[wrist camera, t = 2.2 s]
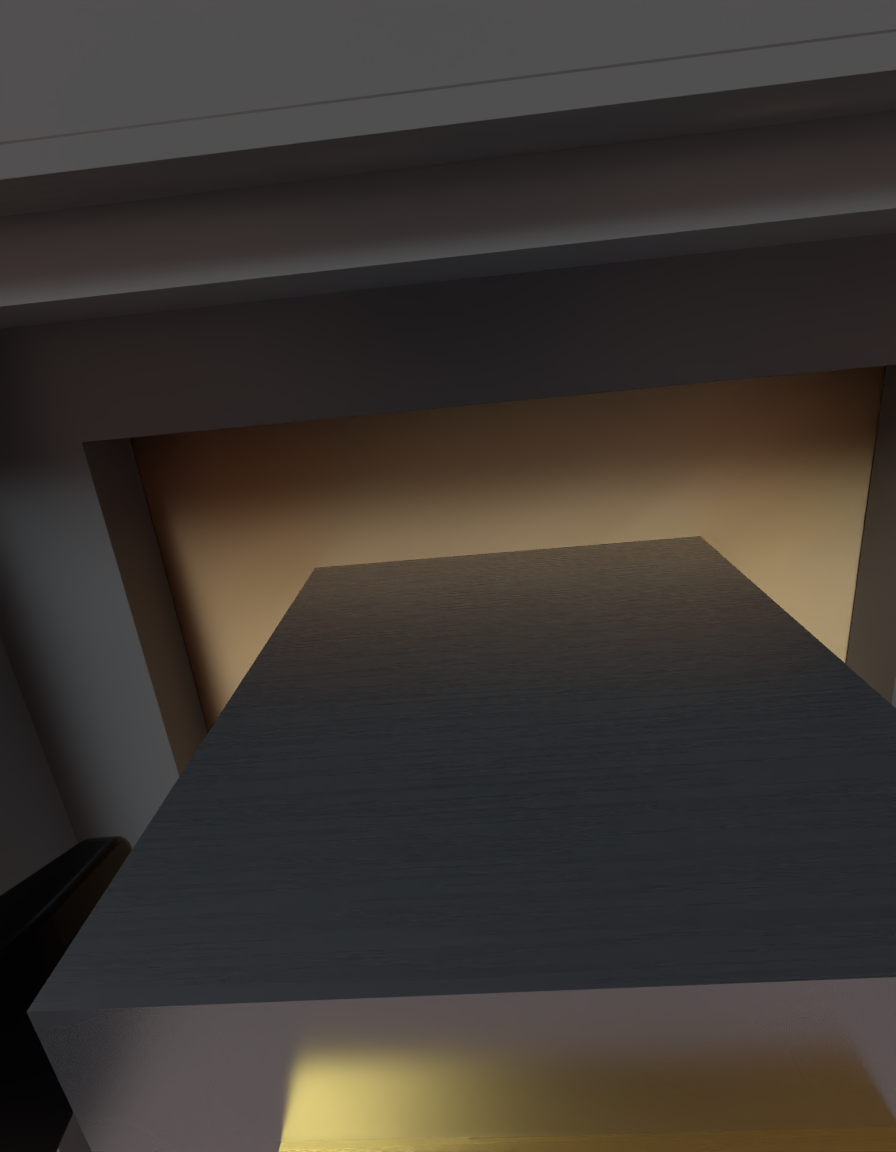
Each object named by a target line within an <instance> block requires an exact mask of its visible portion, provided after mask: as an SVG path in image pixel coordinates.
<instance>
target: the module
mask: <svg viewBox="0 0 896 1152" xmlns="http://www.w3.org/2000/svg"><path fill="white" fill-rule="evenodd" d="M27 1014H28V1016H29V1018H30V1020H31V1022H32V1025H33V1027H34V1029H35V1031H36V1033H37V1035H38V1037H39V1040H40V1042H41V1044H42V1046H43V1048H44V1050H45V1052H46V1055H47V1057H48V1059H49V1061H50V1063H51V1065H52V1067H53V1070H54V1072H55V1074H56V1076H57V1078H58V1080H59V1082H60V1085H61V1087H62V1089H63V1091H64V1093H65V1095H66V1097H67V1100H68V1102H69V1104H70V1106H71V1108H72V1110H73V1112H74V1115H75V1117H76V1119H77V1121H78V1123H79V1125H80V1128H81V1130H82V1132H83V1134H84V1136H85V1138H86V1140H87V1143H88V1145H89V1147H90V1149H91V1151H92V1152H896V708H895V707H894V706H893V705H892V704H890V703H889V702H888V701H887V700H886V699H885V698H884V697H882V696H881V695H880V694H879V693H878V692H877V691H876V690H874V689H873V688H872V687H871V686H870V685H869V684H868V683H867V682H865V681H864V680H863V679H862V678H861V677H860V676H859V675H857V674H856V673H855V672H854V671H853V670H852V669H851V668H849V667H848V666H847V665H846V664H845V663H844V662H843V661H842V660H840V659H839V658H838V657H837V656H836V655H835V654H834V653H832V652H831V651H830V650H829V649H828V648H827V647H826V646H824V645H823V644H822V643H821V642H820V641H819V640H818V639H816V638H815V637H814V636H813V635H812V634H811V633H810V632H809V631H807V630H806V629H805V628H804V627H803V626H802V625H801V624H799V623H798V622H797V621H796V620H795V619H794V618H793V617H791V616H790V615H789V614H788V613H787V612H786V611H785V610H783V609H782V608H781V607H780V606H779V605H778V604H777V603H776V602H774V601H773V600H772V599H771V598H770V597H769V596H768V595H766V594H765V593H764V592H763V591H762V590H761V589H760V588H758V587H757V586H756V585H755V584H754V583H753V582H752V581H751V580H749V579H748V578H747V577H746V576H745V575H744V574H743V573H741V572H740V571H739V570H738V569H737V568H736V567H735V566H733V565H732V564H731V563H730V562H729V561H728V560H727V559H725V558H724V557H723V556H722V555H721V554H720V553H719V552H718V551H716V550H715V549H714V548H713V547H712V546H711V545H710V544H708V543H707V542H706V541H705V540H704V539H703V538H702V537H700V536H698V537H686V538H674V539H662V540H649V541H637V542H625V543H613V544H601V545H588V546H576V547H564V548H552V549H539V550H527V551H515V552H503V553H491V554H478V555H466V556H454V557H442V558H430V559H417V560H405V561H393V562H381V563H369V564H356V565H344V566H332V567H320V568H315V569H314V571H313V572H312V574H311V575H310V577H309V578H308V580H307V581H306V583H305V585H304V586H303V588H302V589H301V591H300V592H299V594H298V595H297V597H296V598H295V600H294V601H293V603H292V605H291V606H290V608H289V609H288V611H287V612H286V614H285V615H284V617H283V618H282V620H281V621H280V623H279V624H278V626H277V628H276V629H275V631H274V632H273V634H272V635H271V637H270V638H269V640H268V641H267V643H266V644H265V646H264V648H263V649H262V651H261V652H260V654H259V655H258V657H257V658H256V660H255V661H254V663H253V664H252V666H251V668H250V669H249V671H248V672H247V674H246V675H245V677H244V678H243V680H242V681H241V683H240V684H239V686H238V688H237V689H236V691H235V692H234V694H233V695H232V697H231V698H230V700H229V701H228V703H227V704H226V706H225V708H224V709H223V711H222V712H221V714H220V715H219V717H218V718H217V720H216V721H215V723H214V724H213V726H212V727H211V729H210V731H209V732H208V734H207V735H206V737H205V738H204V740H203V741H202V743H201V744H200V746H199V747H198V749H197V751H196V752H195V754H194V755H193V757H192V758H191V760H190V761H189V763H188V764H187V766H186V767H185V769H184V771H183V772H182V774H181V775H180V777H179V778H178V780H177V781H176V783H175V784H174V786H173V787H172V789H171V791H170V792H169V794H168V795H167V797H166V798H165V800H164V801H163V803H162V804H161V806H160V807H159V809H158V811H157V812H156V814H155V815H154V817H153V818H152V820H151V821H150V823H149V824H148V826H147V827H146V829H145V831H144V832H143V834H142V835H141V837H140V838H139V840H138V841H137V843H136V844H135V846H134V847H133V849H132V850H131V852H130V854H129V855H128V857H127V858H126V860H125V861H124V863H123V864H122V866H121V867H120V869H119V870H118V872H117V874H116V875H115V877H114V878H113V880H112V881H111V883H110V884H109V886H108V887H107V889H106V890H105V892H104V894H103V895H102V897H101V898H100V900H99V901H98V903H97V904H96V906H95V907H94V909H93V910H92V912H91V914H90V915H89V917H88V918H87V920H86V921H85V923H84V924H83V926H82V927H81V929H80V930H79V932H78V934H77V935H76V937H75V938H74V940H73V941H72V943H71V944H70V946H69V947H68V949H67V950H66V952H65V953H64V955H63V957H62V958H61V960H60V961H59V963H58V964H57V966H56V967H55V969H54V970H53V972H52V973H51V975H50V977H49V978H48V980H47V981H46V983H45V984H44V986H43V987H42V989H41V990H40V992H39V993H38V995H37V997H36V998H35V1000H34V1001H33V1003H32V1004H31V1006H30V1007H29V1009H28V1010H27Z"/></svg>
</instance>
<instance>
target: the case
mask: <svg viewBox="0 0 896 1152" xmlns="http://www.w3.org/2000/svg"><path fill="white" fill-rule="evenodd" d="M885 365H886V372H885V380H884V387H883V395H882V402H881V409H880V417H879V424H878V432H877V439H876V446H875V454H874V461H873V469H872V476H871V484H870V491H869V498H868V506H867V513H866V521H865V528H864V535H863V543H862V550H861V558H860V565H859V572H858V580H857V587H856V595H855V602H854V610H853V617H852V624H851V632H850V639H849V647H848V654H847V661H846V665H847V666H848V667H849V668H851V669H852V670H853V671H854V672H855V673H856V674H857V675H859V676H860V677H861V678H862V679H863V680H864V681H865V682H867V683H868V684H869V685H870V686H871V687H872V688H873V689H874V690H876V691H877V692H878V693H879V694H880V695H881V696H882V697H884V698H885V699H886V700H887V701H888V702H889V703H890V704H892V705H893V706H894V707H895V708H896V0H0V895H2V894H3V893H5V892H6V891H8V890H9V889H11V888H12V887H14V886H15V885H17V884H18V883H20V882H21V881H23V880H24V879H26V878H27V877H29V876H30V875H32V874H33V873H35V872H36V871H38V870H39V869H41V868H42V867H44V866H45V865H47V864H48V863H50V862H51V861H53V860H54V859H56V858H57V857H59V856H60V855H62V854H63V853H64V852H66V851H67V850H69V849H70V848H72V847H73V846H75V845H76V844H78V843H79V842H81V841H83V840H85V839H87V838H92V837H107V836H121V837H124V838H126V839H127V840H128V841H129V842H130V844H131V847H132V849H133V847H134V846H135V844H136V843H137V841H138V840H139V838H140V837H141V835H142V834H143V832H144V831H145V829H146V827H147V826H148V824H149V823H150V821H151V820H152V818H153V817H154V815H155V814H156V812H157V811H158V809H159V807H160V806H161V804H162V803H163V801H164V800H165V798H166V797H167V795H168V794H169V792H170V791H171V789H172V787H173V786H174V784H175V783H176V781H177V780H178V778H179V777H180V775H181V774H182V772H183V771H184V769H185V767H186V766H187V764H188V763H189V761H190V760H191V758H192V757H193V755H194V754H195V752H196V751H197V749H198V747H199V746H200V744H201V743H202V741H203V740H204V738H205V737H206V735H207V734H208V731H207V728H206V724H205V720H204V716H203V712H202V709H201V705H200V701H199V697H198V694H197V690H196V686H195V682H194V679H193V675H192V671H191V667H190V663H189V660H188V656H187V652H186V648H185V645H184V641H183V637H182V633H181V630H180V626H179V622H178V618H177V614H176V611H175V607H174V603H173V599H172V596H171V592H170V588H169V584H168V581H167V577H166V573H165V569H164V565H163V562H162V558H161V554H160V550H159V547H158V543H157V539H156V535H155V532H154V528H153V524H152V520H151V516H150V513H149V509H148V505H147V501H146V498H145V494H144V490H143V486H142V483H141V479H140V475H139V471H138V467H137V464H136V460H135V456H134V452H133V449H132V445H131V441H130V438H131V437H141V436H152V435H162V434H173V433H183V432H194V431H204V430H215V429H225V428H236V427H246V426H257V425H267V424H278V423H288V422H299V421H309V420H320V419H330V418H341V417H351V416H361V415H372V414H382V413H393V412H403V411H414V410H424V409H435V408H445V407H456V406H466V405H477V404H487V403H498V402H508V401H519V400H529V399H540V398H550V397H561V396H571V395H582V394H592V393H602V392H613V391H623V390H634V389H644V388H655V387H665V386H676V385H686V384H697V383H707V382H718V381H728V380H739V379H749V378H760V377H770V376H781V375H791V374H802V373H812V372H823V371H833V370H844V369H854V368H864V367H875V366H885ZM57 1152H92V1151H91V1149H90V1147H89V1145H88V1143H87V1140H86V1138H85V1136H84V1134H83V1132H82V1130H81V1128H80V1125H79V1123H78V1121H77V1119H76V1117H75V1115H74V1113H73V1115H72V1118H71V1120H70V1122H69V1125H68V1127H67V1129H66V1131H65V1134H64V1136H63V1138H62V1141H61V1143H60V1145H59V1147H58V1150H57Z"/></svg>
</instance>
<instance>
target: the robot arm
mask: <svg viewBox="0 0 896 1152" xmlns="http://www.w3.org/2000/svg"><path fill="white" fill-rule="evenodd" d="M131 850H132V847H131V844H130V842H129V841H128V840H127V839H126V838H124V837H121V836H107V837H92V838H87V839H85V840H83V841H81V842H79V843H78V844H76V845H75V846H73V847H72V848H70V849H69V850H67V851H66V852H64V853H63V854H62V855H60V856H59V857H57V858H56V859H54V860H53V861H51V862H50V863H48V864H47V865H45V866H44V867H42V868H41V869H39V870H38V871H36V872H35V873H33V874H32V875H30V876H29V877H27V878H26V879H24V880H23V881H21V882H20V883H18V884H17V885H15V886H14V887H12V888H11V889H9V890H8V891H6V892H5V893H3V894H2V895H0V1152H57V1150H58V1147H59V1145H60V1143H61V1141H62V1138H63V1136H64V1134H65V1131H66V1129H67V1127H68V1125H69V1122H70V1120H71V1118H72V1115H73V1113H74V1112H73V1110H72V1108H71V1106H70V1104H69V1102H68V1100H67V1097H66V1095H65V1093H64V1091H63V1089H62V1087H61V1085H60V1082H59V1080H58V1078H57V1076H56V1074H55V1072H54V1070H53V1067H52V1065H51V1063H50V1061H49V1059H48V1057H47V1055H46V1052H45V1050H44V1048H43V1046H42V1044H41V1042H40V1040H39V1037H38V1035H37V1033H36V1031H35V1029H34V1027H33V1025H32V1022H31V1020H30V1018H29V1016H28V1014H27V1010H28V1009H29V1007H30V1006H31V1004H32V1003H33V1001H34V1000H35V998H36V997H37V995H38V993H39V992H40V990H41V989H42V987H43V986H44V984H45V983H46V981H47V980H48V978H49V977H50V975H51V973H52V972H53V970H54V969H55V967H56V966H57V964H58V963H59V961H60V960H61V958H62V957H63V955H64V953H65V952H66V950H67V949H68V947H69V946H70V944H71V943H72V941H73V940H74V938H75V937H76V935H77V934H78V932H79V930H80V929H81V927H82V926H83V924H84V923H85V921H86V920H87V918H88V917H89V915H90V914H91V912H92V910H93V909H94V907H95V906H96V904H97V903H98V901H99V900H100V898H101V897H102V895H103V894H104V892H105V890H106V889H107V887H108V886H109V884H110V883H111V881H112V880H113V878H114V877H115V875H116V874H117V872H118V870H119V869H120V867H121V866H122V864H123V863H124V861H125V860H126V858H127V857H128V855H129V854H130V852H131Z"/></svg>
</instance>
